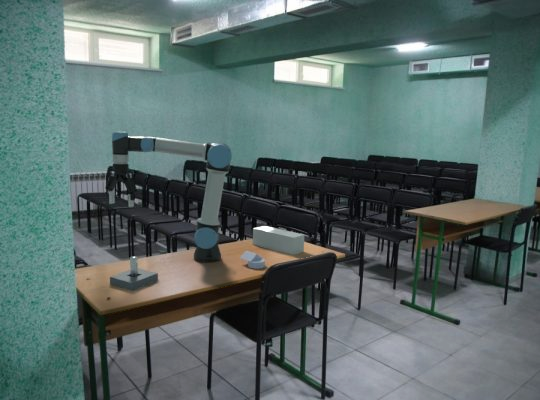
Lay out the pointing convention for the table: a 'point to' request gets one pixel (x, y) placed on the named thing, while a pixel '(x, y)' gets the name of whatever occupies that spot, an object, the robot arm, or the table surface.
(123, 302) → the table surface
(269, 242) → the long white box
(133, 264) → the peg
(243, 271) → the table surface
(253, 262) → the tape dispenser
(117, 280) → the hole block
